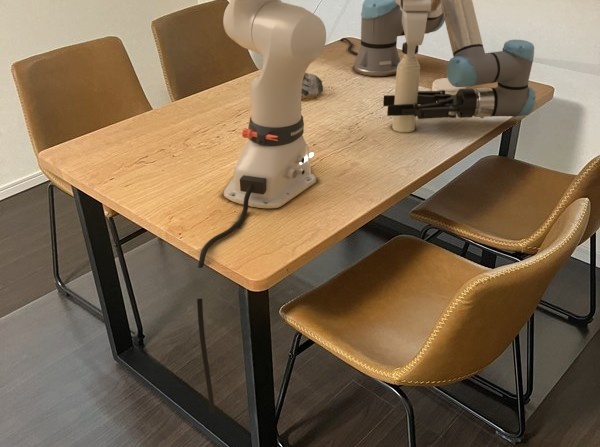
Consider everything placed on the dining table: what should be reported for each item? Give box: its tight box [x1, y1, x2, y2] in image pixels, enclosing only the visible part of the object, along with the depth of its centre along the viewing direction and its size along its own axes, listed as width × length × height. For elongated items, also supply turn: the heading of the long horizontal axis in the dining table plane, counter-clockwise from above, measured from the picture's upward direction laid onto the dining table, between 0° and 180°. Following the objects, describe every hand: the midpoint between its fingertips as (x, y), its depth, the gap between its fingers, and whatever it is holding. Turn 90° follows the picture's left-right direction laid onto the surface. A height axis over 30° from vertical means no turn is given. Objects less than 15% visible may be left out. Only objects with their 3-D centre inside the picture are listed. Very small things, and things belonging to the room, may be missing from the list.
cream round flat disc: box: [431, 77, 467, 95], centre depth 185 cm, size 10×10×4 cm
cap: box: [401, 41, 420, 55], centre depth 154 cm, size 4×4×2 cm
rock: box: [301, 72, 324, 99], centre depth 187 cm, size 15×10×7 cm
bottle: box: [392, 53, 421, 133], centre depth 160 cm, size 6×6×22 cm
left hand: (409, 53), depth 155 cm, fingers closed on cap, 4 cm apart
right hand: (385, 105), depth 162 cm, fingers closed on bottle, 6 cm apart
